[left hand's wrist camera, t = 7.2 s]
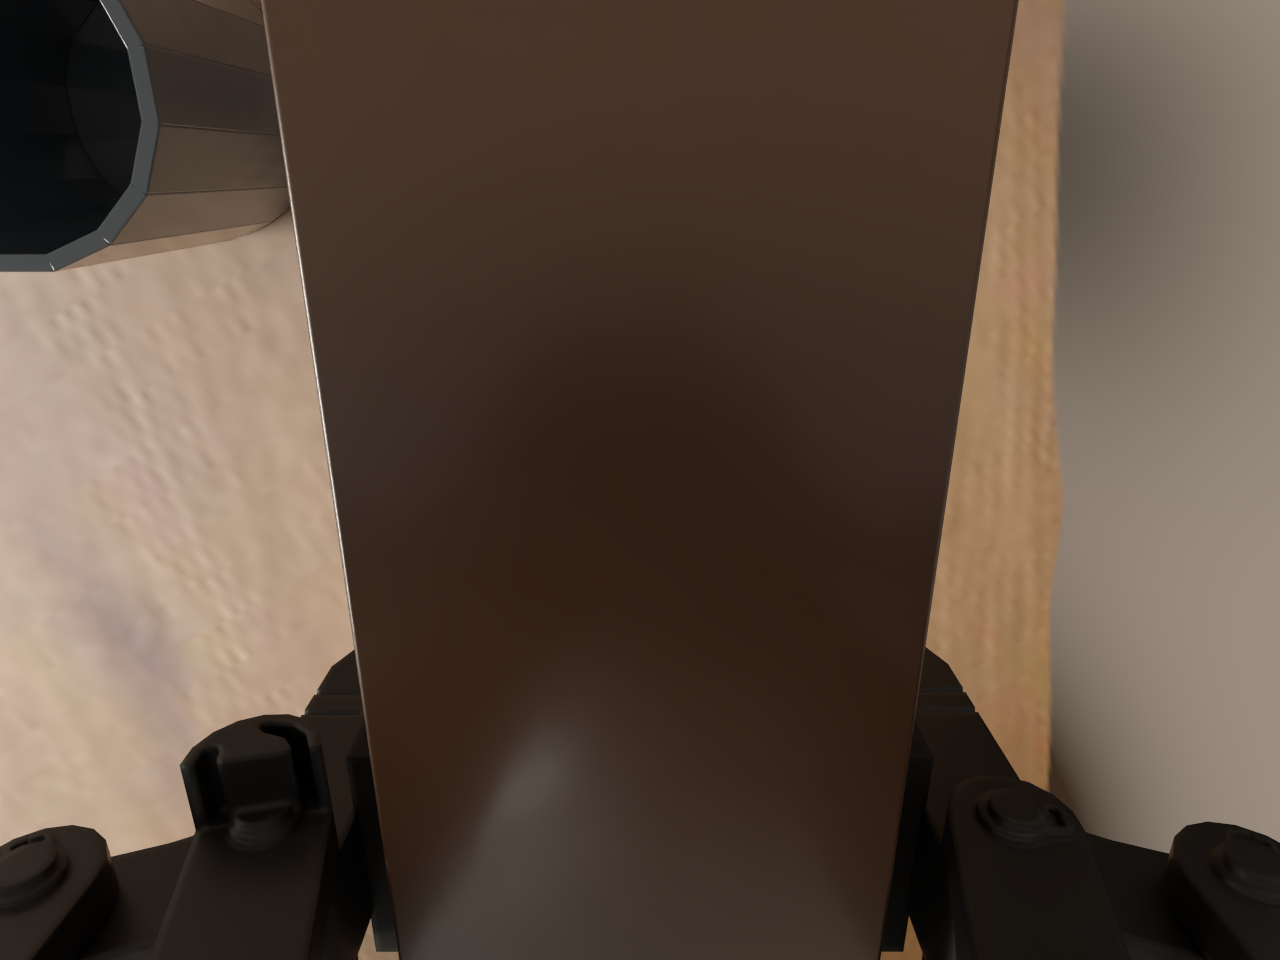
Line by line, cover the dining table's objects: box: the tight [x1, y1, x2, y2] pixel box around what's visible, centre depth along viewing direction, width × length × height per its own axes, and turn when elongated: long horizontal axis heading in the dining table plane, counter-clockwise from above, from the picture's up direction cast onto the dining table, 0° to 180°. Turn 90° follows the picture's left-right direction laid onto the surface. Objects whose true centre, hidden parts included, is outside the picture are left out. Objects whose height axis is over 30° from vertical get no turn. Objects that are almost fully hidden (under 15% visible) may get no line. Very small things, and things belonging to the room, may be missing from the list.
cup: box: [0, 0, 290, 272], centre depth 21 cm, size 8×8×9 cm
